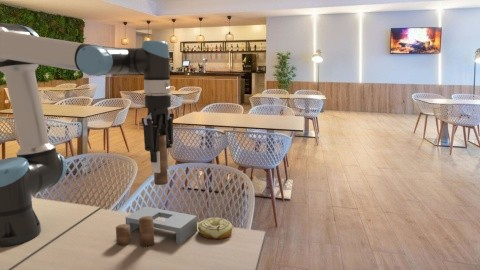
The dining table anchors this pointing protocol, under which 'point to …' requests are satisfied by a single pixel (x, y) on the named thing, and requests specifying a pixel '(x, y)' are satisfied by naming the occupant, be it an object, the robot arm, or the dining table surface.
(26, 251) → the dining table surface
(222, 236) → the decorated donut
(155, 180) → the long dowel
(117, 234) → the short dowel
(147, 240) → the medium dowel
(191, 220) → the bridge
